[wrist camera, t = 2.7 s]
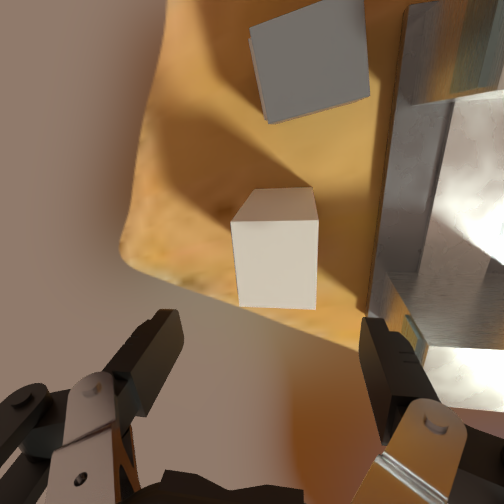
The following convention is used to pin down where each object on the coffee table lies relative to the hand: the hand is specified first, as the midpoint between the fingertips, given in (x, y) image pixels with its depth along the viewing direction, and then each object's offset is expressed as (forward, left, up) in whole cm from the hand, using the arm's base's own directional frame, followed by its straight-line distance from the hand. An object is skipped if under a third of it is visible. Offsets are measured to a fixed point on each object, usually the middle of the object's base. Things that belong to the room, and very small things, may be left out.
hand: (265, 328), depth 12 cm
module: (0, 0, -14) cm, 14 cm away
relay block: (-11, +2, -14) cm, 18 cm away
